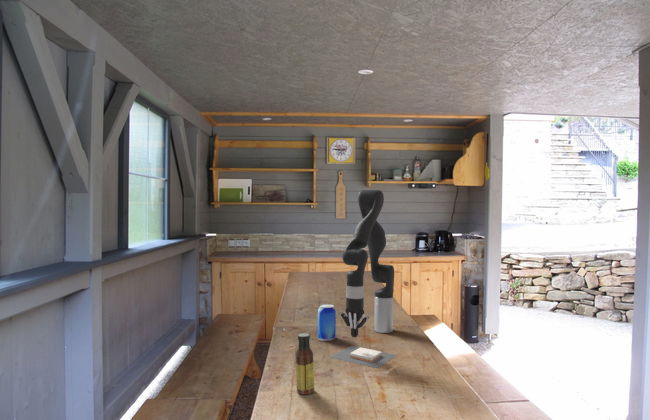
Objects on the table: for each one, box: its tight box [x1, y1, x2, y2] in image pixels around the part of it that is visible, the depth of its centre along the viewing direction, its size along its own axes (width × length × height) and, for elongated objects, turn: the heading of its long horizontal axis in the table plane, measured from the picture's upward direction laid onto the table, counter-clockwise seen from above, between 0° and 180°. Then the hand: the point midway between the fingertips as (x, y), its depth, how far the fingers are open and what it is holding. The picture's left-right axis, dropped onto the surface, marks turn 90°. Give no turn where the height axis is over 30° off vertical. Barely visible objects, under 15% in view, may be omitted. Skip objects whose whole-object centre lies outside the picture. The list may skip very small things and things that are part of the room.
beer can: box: [317, 303, 337, 342], centre depth 217 cm, size 8×8×16 cm
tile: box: [350, 347, 382, 362], centre depth 193 cm, size 9×2×10 cm
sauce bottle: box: [295, 332, 315, 396], centre depth 159 cm, size 7×6×20 cm
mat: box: [329, 345, 398, 369], centre depth 193 cm, size 18×22×1 cm
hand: (354, 336), depth 195 cm, fingers closed
